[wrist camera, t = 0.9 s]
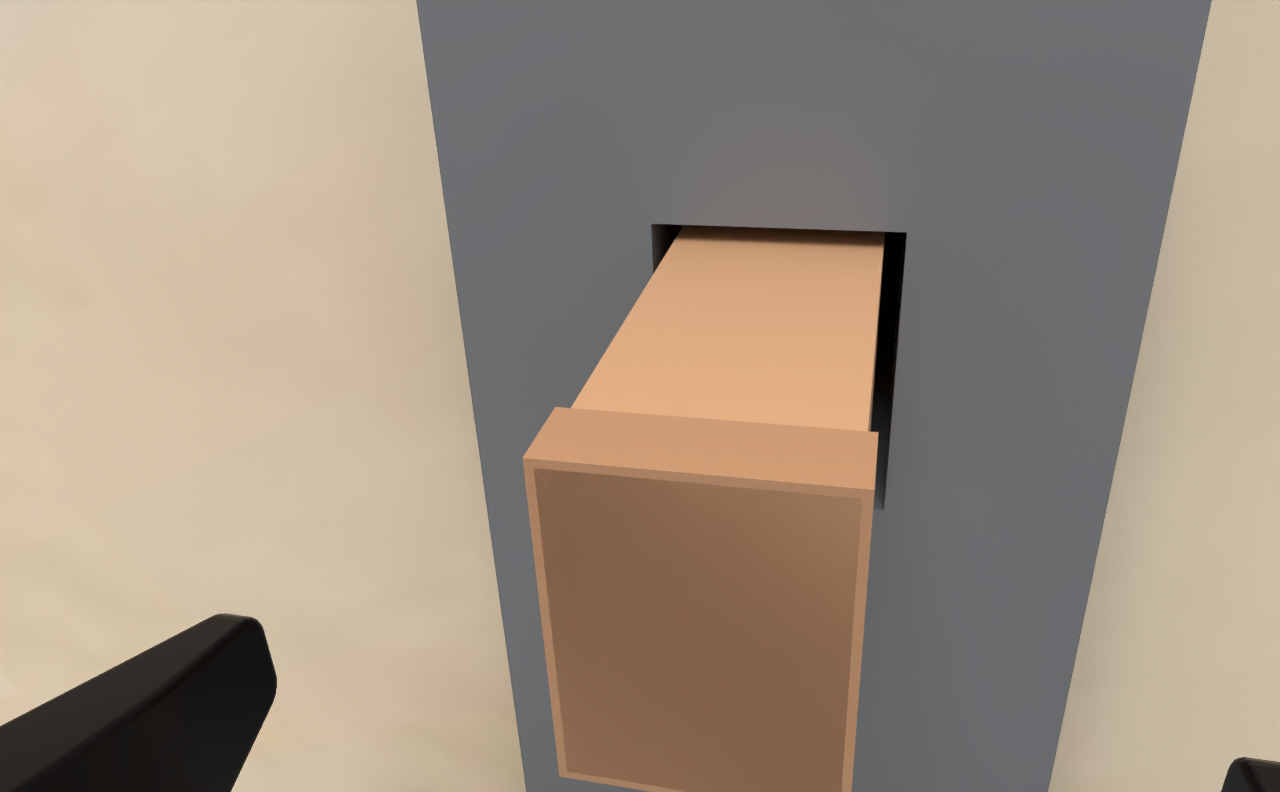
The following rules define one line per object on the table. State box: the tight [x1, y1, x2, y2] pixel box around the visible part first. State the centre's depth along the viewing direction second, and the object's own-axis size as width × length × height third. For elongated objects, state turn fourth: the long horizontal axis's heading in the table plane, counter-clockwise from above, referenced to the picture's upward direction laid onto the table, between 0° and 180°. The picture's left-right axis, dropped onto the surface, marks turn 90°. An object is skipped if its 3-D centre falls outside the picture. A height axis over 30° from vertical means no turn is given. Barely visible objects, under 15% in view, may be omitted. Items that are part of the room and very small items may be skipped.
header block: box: [416, 0, 1212, 792], centre depth 20 cm, size 24×10×4 cm, turn 2°
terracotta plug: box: [522, 225, 886, 792], centre depth 14 cm, size 4×3×10 cm
